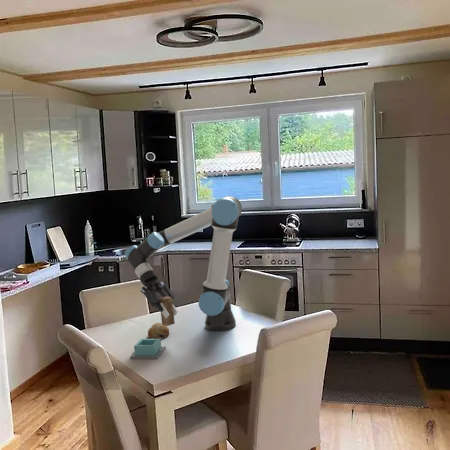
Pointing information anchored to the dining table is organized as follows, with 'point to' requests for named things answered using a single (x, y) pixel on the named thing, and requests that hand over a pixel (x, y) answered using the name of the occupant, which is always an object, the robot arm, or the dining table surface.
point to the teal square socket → (148, 349)
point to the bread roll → (158, 331)
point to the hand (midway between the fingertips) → (171, 314)
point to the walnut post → (169, 307)
